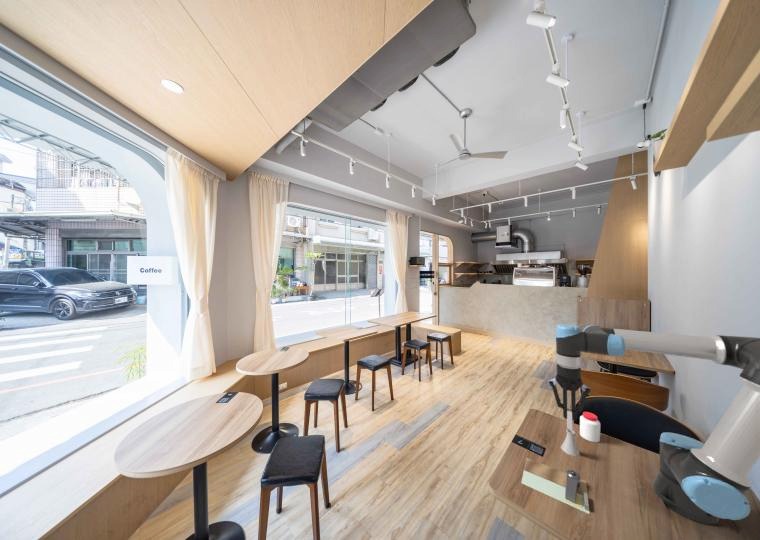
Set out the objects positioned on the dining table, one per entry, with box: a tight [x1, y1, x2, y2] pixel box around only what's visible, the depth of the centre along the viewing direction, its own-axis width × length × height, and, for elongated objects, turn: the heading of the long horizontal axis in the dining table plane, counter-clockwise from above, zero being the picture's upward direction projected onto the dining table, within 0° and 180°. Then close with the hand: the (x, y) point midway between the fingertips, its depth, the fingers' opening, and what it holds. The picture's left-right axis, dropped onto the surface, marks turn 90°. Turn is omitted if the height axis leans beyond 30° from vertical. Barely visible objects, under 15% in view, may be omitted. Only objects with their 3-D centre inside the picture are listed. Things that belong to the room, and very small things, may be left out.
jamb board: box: [523, 457, 589, 497], centre depth 99 cm, size 20×8×1 cm, turn 54°
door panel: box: [521, 469, 591, 515], centre depth 93 cm, size 20×8×3 cm, turn 54°
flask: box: [560, 429, 581, 457], centre depth 113 cm, size 7×7×10 cm
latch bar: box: [565, 469, 581, 503], centre depth 93 cm, size 12×4×4 cm, turn 138°
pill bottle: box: [579, 411, 601, 443], centre depth 124 cm, size 8×8×11 cm
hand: (569, 427), depth 96 cm, fingers closed
